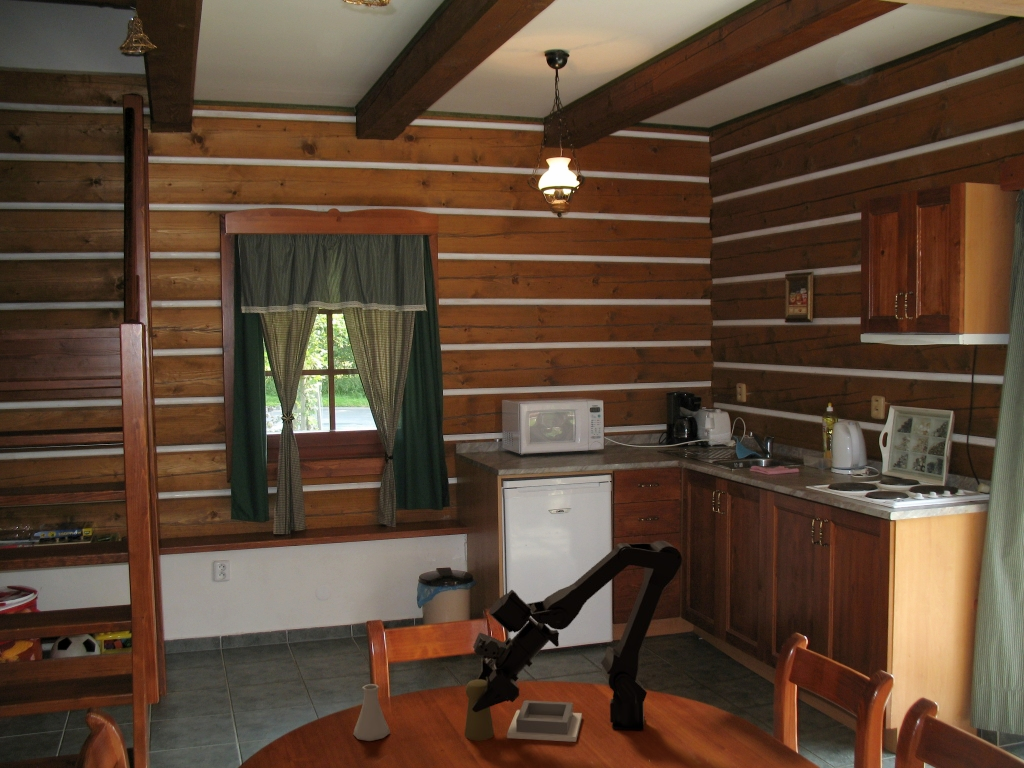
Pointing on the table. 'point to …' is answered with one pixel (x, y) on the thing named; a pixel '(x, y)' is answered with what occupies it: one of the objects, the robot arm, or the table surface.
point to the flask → (371, 717)
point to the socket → (545, 721)
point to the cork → (477, 713)
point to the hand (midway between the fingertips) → (471, 703)
